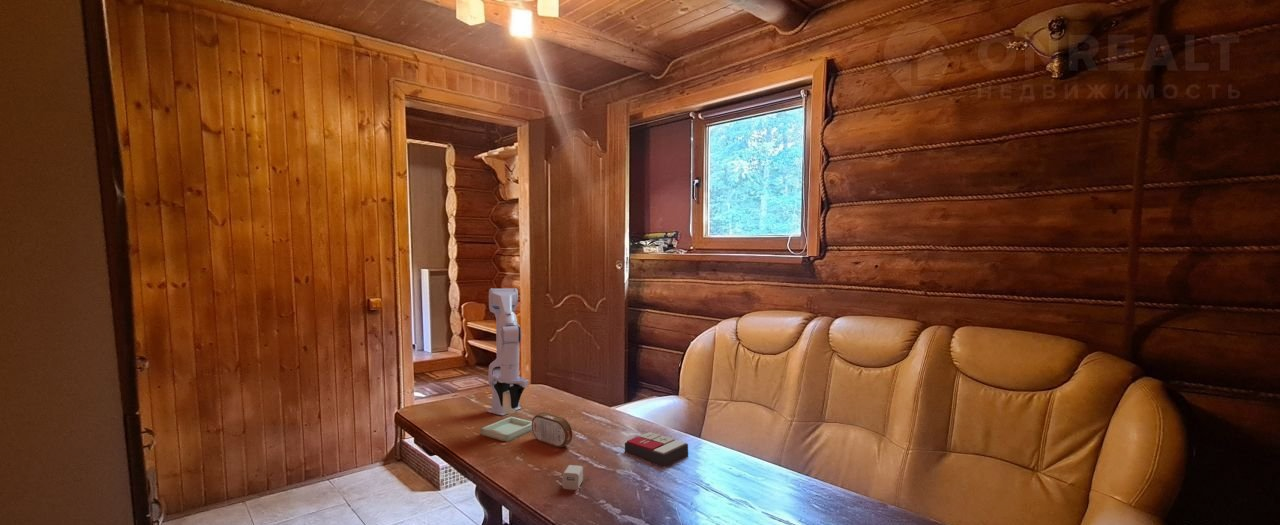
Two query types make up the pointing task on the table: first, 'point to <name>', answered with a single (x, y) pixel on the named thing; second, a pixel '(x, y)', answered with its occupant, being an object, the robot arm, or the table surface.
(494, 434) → the trough tray
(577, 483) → the usb wall charger
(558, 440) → the tin
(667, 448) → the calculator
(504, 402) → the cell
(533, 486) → the table surface
